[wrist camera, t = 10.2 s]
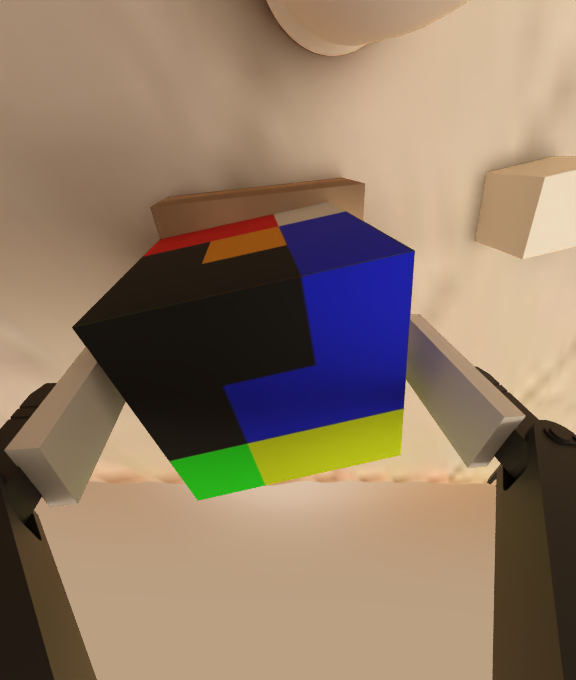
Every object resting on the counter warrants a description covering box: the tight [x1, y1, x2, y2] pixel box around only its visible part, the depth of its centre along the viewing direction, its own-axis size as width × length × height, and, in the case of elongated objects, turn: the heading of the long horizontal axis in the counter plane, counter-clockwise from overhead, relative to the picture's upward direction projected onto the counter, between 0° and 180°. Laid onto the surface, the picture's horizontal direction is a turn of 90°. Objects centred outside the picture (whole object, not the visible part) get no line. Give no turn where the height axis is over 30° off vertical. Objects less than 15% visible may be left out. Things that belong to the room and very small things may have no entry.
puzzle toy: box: [72, 202, 415, 500], centre depth 15 cm, size 10×10×10 cm
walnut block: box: [150, 178, 365, 239], centre depth 21 cm, size 12×12×5 cm
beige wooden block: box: [475, 156, 576, 259], centre depth 20 cm, size 5×5×5 cm
